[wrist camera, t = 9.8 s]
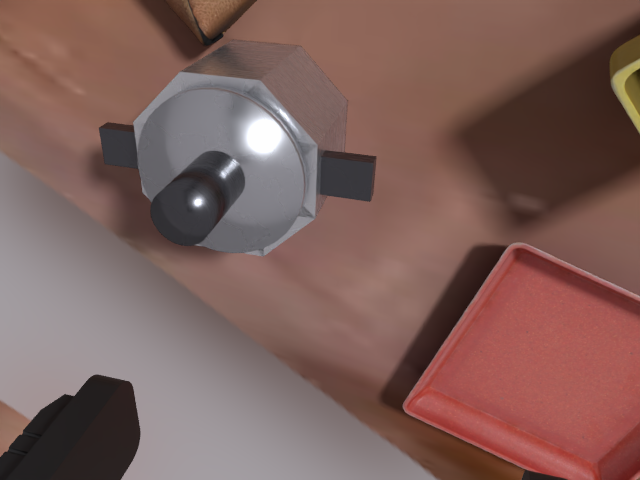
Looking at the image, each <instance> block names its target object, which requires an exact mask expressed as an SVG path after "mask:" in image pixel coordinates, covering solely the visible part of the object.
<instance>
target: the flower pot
mask: <svg viewBox="0 0 640 480" xmlns="http://www.w3.org/2000/svg"><path fill="white" fill-rule="evenodd" d="M610 80H611V87H612V89H613V91H614V93H615V94H616V96H617V98H618V99H619V101H620V102H621V104H622V106H623V107H624V109H625V111H626V112H627V114H628V116H629V117H630V119H631V121H632V122H633V124H634V126H635V127H636V129H637V131H638V133H639V134H640V35H638V36H637V37H635V38H633V39H631V40H629V41H628V42H626V43H624V44H623V45H621V46H620V47H618V48H617V49H616V50H615V51H614V52H613V54H612V55H611V58H610Z"/></svg>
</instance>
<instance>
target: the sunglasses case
mask: <svg viewBox="0 0 640 480" xmlns="http://www.w3.org/2000/svg"><path fill="white" fill-rule="evenodd" d="M165 1H166V2H167V4H168V5H169V6H170V7H171V8H172V9H173V10H174V12H175V13H176V14H177V15H178V16H179V18H180V19H181V20H182V21H183V22H184V23H185V24H186V25H187V26H188V27H189V28H190V30H191V31H192V32H193V33H194V34H195V36H196V37H197V38H198V40H199V41H200V42H201V43H202V44H203V45H204V46H207V45H210V44H212V43H214V42H215V41H217V40H219V39H220V38H222V37H223V33H224V32H226V30H227V29H229V28H230V27H231V26H232V25H233V24H234V23H235V22H236V21H237V20H238V19H239V18H240V17H241V15H243V14H244V13H245V12H246V11H247V10H248V9H249V8H250V6H251V5H252V4H254V3H255V2H256V1H257V0H165Z"/></svg>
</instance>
